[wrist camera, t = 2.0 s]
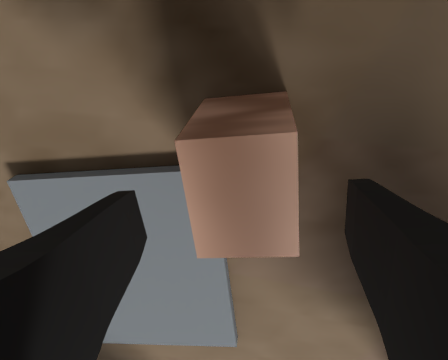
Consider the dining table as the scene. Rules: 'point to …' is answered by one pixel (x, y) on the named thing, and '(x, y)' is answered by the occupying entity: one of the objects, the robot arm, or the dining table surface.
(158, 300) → the mat
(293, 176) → the block
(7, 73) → the dining table surface
